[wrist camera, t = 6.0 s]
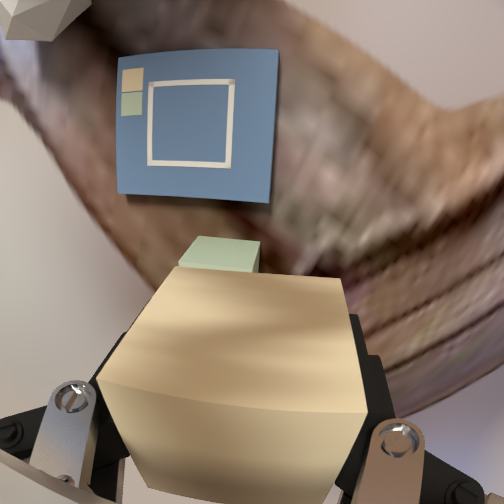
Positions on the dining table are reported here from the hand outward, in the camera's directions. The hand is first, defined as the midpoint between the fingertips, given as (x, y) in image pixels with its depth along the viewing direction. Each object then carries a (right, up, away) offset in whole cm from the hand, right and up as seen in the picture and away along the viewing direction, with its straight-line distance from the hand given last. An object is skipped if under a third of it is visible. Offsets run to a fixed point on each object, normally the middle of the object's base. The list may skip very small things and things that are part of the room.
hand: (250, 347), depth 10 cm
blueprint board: (-4, +13, +12) cm, 18 cm away
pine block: (0, 0, +1) cm, 1 cm away
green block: (-2, +2, +17) cm, 17 cm away
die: (-16, +25, +9) cm, 32 cm away
